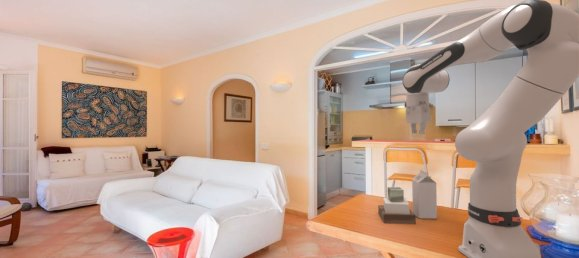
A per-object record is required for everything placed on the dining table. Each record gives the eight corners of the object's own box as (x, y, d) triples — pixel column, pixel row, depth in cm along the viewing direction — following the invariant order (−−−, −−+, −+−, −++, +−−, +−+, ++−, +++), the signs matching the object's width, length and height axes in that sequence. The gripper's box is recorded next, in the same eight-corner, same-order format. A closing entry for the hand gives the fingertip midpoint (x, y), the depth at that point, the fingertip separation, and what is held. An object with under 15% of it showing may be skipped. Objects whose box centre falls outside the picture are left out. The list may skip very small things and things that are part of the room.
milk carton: (429, 213, 114) (428, 170, 114) (437, 219, 107) (436, 173, 107) (412, 213, 115) (411, 170, 115) (418, 218, 108) (418, 173, 107)
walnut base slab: (415, 225, 102) (415, 215, 102) (383, 224, 104) (383, 214, 104) (406, 214, 114) (406, 205, 114) (378, 214, 116) (378, 205, 116)
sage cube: (403, 202, 107) (403, 190, 107) (391, 202, 107) (391, 189, 107) (399, 198, 112) (399, 187, 112) (387, 198, 112) (387, 187, 112)
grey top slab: (409, 214, 103) (409, 204, 103) (385, 213, 106) (385, 203, 106) (405, 207, 112) (405, 198, 112) (383, 206, 114) (383, 197, 114)
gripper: (434, 100, 104) (435, 134, 105) (417, 103, 125) (417, 132, 125) (418, 100, 105) (418, 134, 106) (403, 104, 126) (403, 133, 126)
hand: (417, 133), depth 115 cm, fingers open, 8 cm apart
